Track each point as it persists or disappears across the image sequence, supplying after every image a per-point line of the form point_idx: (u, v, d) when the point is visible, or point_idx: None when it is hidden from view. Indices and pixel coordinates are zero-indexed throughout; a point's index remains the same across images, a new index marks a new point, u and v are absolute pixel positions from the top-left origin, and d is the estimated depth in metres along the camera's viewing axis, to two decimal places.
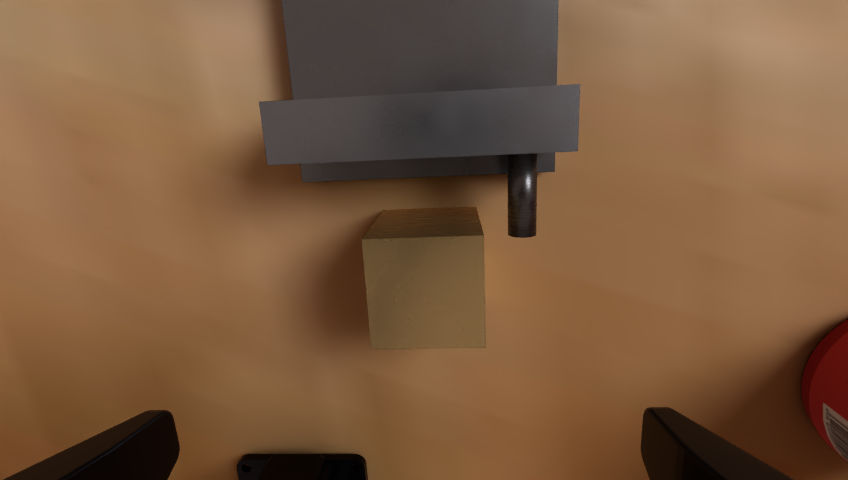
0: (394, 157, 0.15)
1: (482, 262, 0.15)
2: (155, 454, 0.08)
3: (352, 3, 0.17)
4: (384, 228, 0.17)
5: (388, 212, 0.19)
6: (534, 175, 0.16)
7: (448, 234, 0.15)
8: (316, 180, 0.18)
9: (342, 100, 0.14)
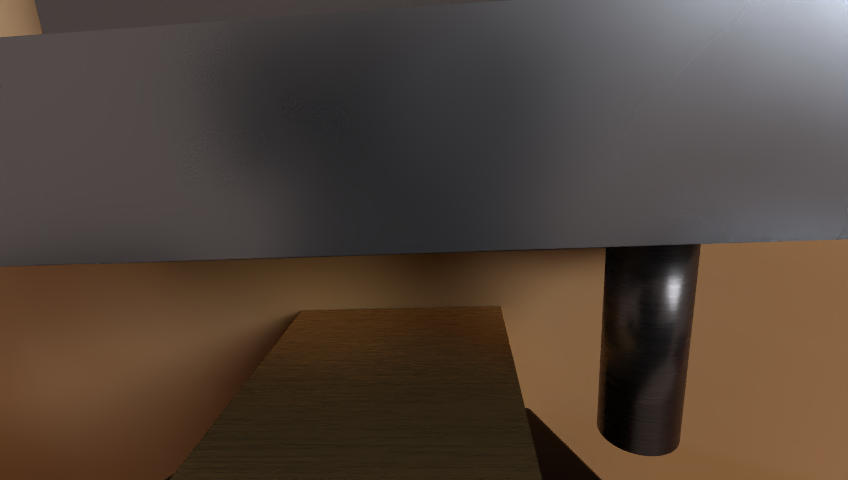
0: (238, 252, 0.04)
1: None
2: None
3: None
4: (254, 424, 0.06)
5: (307, 323, 0.09)
6: (693, 287, 0.05)
7: None
8: None
9: (31, 48, 0.04)
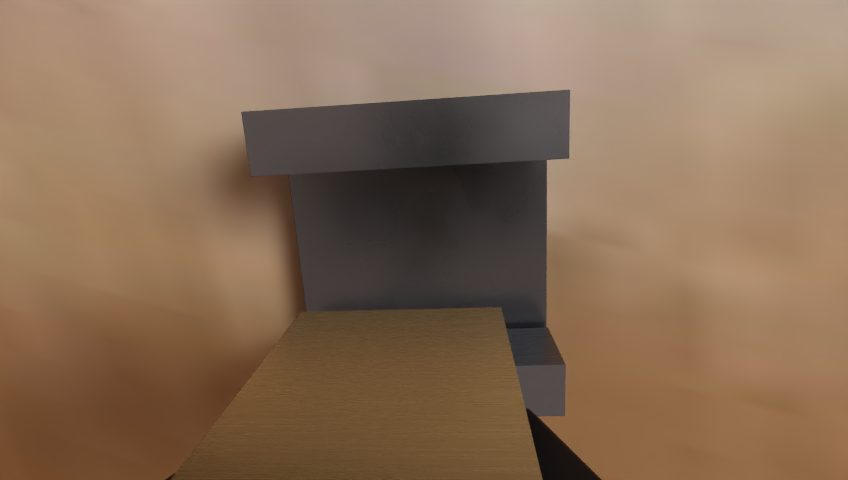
0: None
1: None
2: None
3: (362, 252, 0.19)
4: (253, 426, 0.06)
5: (306, 324, 0.09)
6: None
7: None
8: None
9: None
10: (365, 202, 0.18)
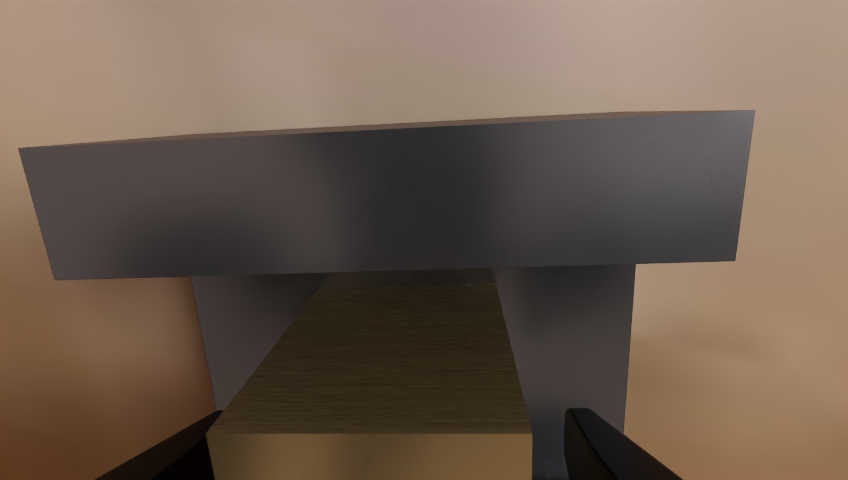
0: None
1: None
2: None
3: None
4: (289, 370, 0.07)
5: (325, 297, 0.10)
6: None
7: (436, 419, 0.06)
8: None
9: None
10: (317, 288, 0.11)
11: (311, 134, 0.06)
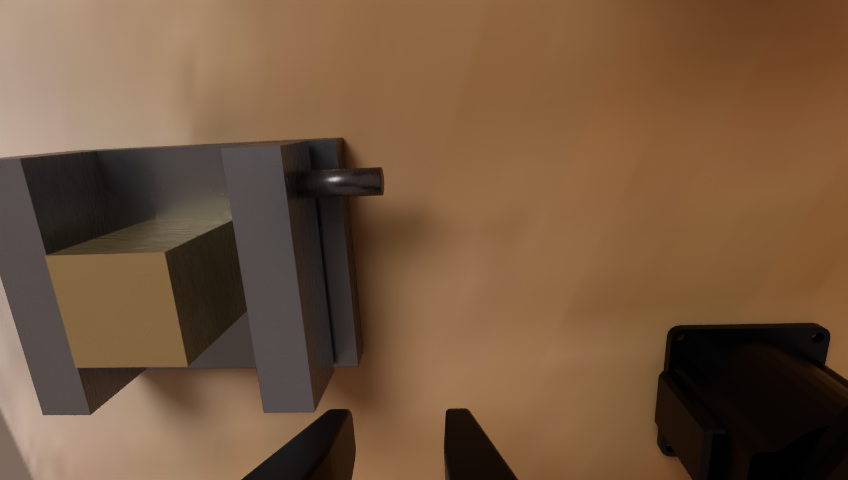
0: (299, 310, 0.16)
1: (71, 256, 0.15)
2: (345, 454, 0.08)
3: None
4: None
5: None
6: (319, 175, 0.16)
7: None
8: (355, 355, 0.20)
9: (256, 349, 0.17)
10: None
11: None
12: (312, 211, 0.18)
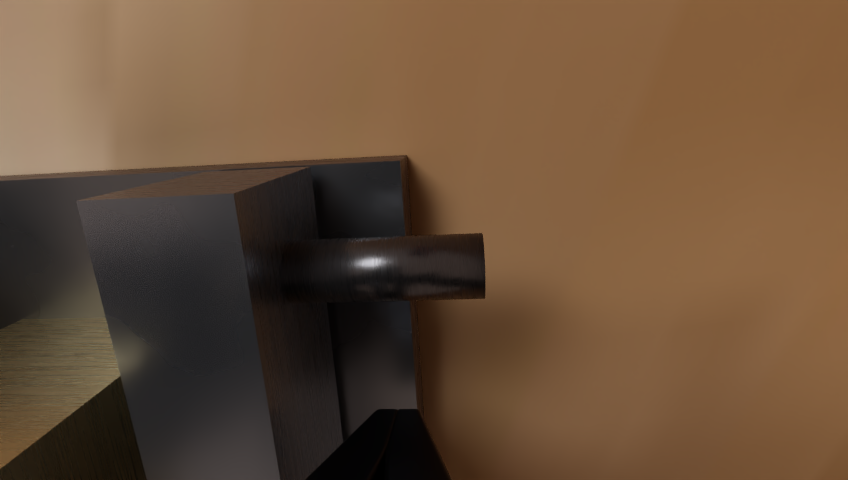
0: None
1: None
2: None
3: None
4: None
5: None
6: (337, 254, 0.07)
7: None
8: None
9: None
10: None
11: None
12: (319, 314, 0.09)
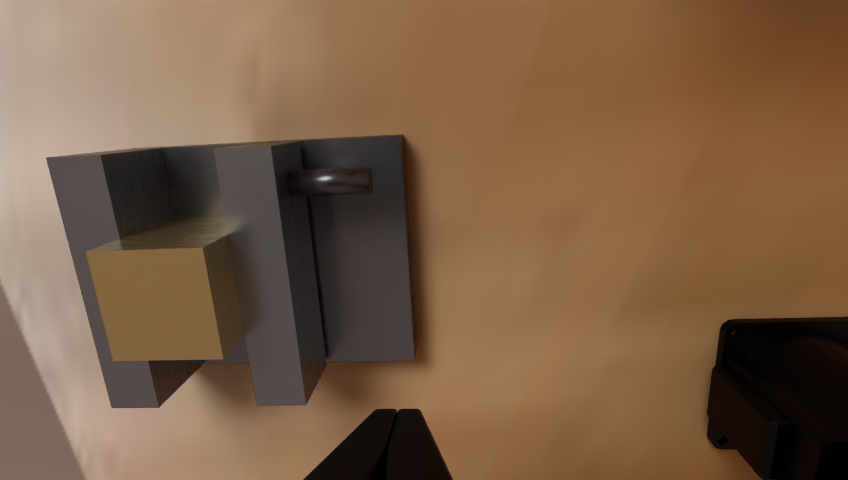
0: (290, 305, 0.17)
1: (111, 252, 0.15)
2: None
3: None
4: None
5: None
6: (309, 174, 0.17)
7: None
8: (412, 349, 0.21)
9: (249, 343, 0.18)
10: None
11: None
12: (303, 210, 0.19)
